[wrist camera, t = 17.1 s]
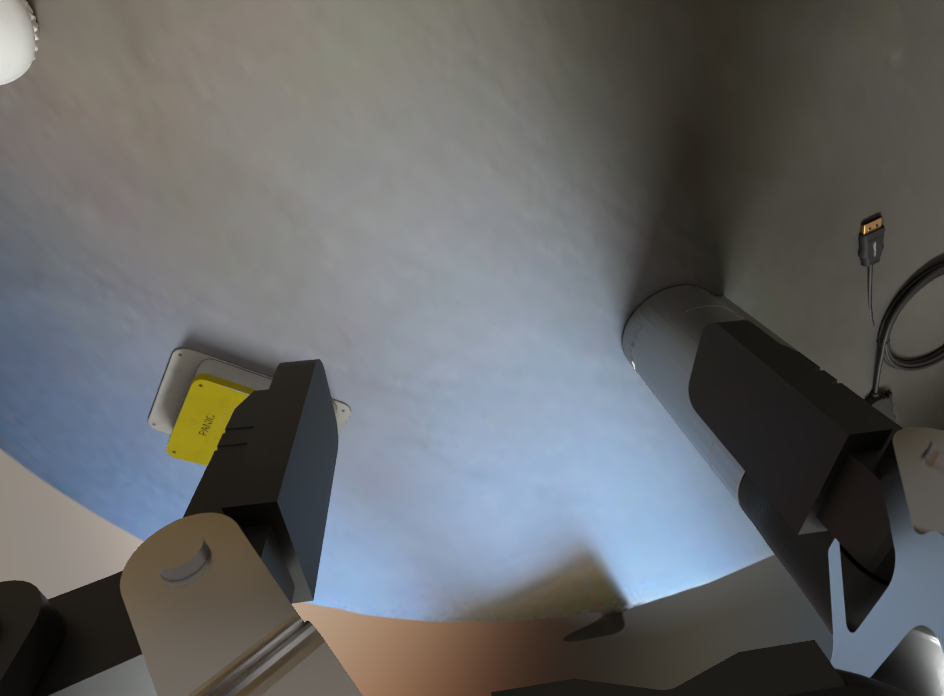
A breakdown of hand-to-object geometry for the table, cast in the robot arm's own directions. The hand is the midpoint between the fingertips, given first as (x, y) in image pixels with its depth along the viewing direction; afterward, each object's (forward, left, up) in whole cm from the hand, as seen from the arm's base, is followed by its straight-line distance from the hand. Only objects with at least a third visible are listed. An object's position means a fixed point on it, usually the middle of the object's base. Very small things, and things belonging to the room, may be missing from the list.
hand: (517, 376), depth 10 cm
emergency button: (+17, +21, -27) cm, 39 cm away
